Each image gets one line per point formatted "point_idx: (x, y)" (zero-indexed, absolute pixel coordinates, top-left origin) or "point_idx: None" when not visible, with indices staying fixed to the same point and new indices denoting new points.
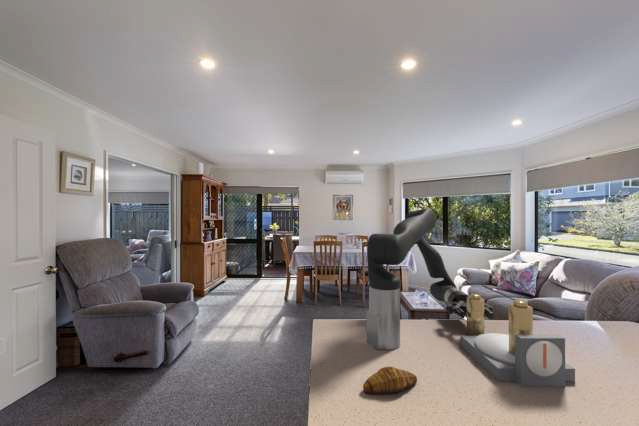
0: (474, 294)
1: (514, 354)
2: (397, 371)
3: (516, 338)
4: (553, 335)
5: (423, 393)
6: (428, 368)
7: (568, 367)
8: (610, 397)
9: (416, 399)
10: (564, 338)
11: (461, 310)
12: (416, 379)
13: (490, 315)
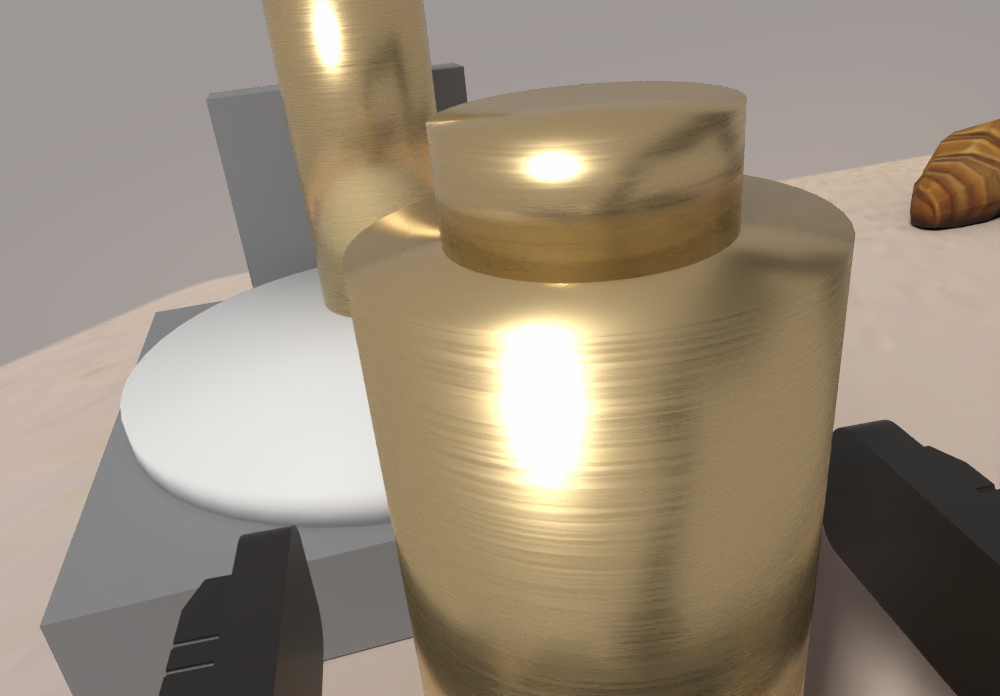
0: (605, 117)
1: None
2: (973, 136)
3: (463, 84)
4: (245, 92)
5: (860, 212)
6: (916, 286)
7: (181, 312)
8: (136, 335)
9: (870, 197)
10: (214, 93)
11: (918, 459)
12: (912, 206)
13: (304, 561)
